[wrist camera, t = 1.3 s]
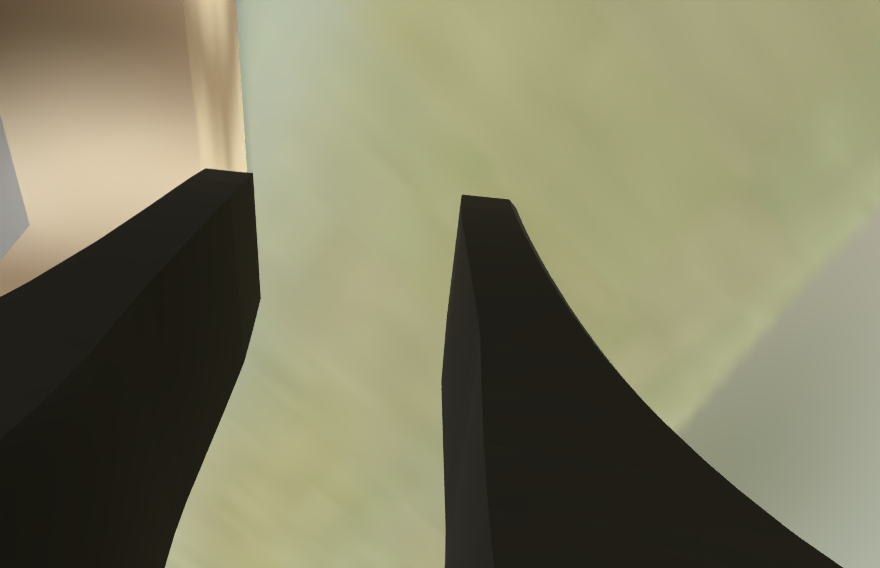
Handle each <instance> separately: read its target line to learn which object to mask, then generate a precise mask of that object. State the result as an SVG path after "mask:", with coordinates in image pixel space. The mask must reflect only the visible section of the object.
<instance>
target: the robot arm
mask: <svg viewBox="0 0 880 568" xmlns="http://www.w3.org/2000/svg"><path fill="white" fill-rule="evenodd" d="M260 299H261V297H260V280H259V264H258V248H257V232H256V216H255V200H254V184H253V173H246V172H237V171H227V170H217V169H208V168H205V169H203V170H202V171H200V172H198V173H197V174H195V175H194V176H192V177H190V178H189V179H187V180H186V181H184V182H183V183H181V184H180V185H179V186H177V187H176V188H174V189H173V190H171V191H170V192H168V193H167V194H165V195H164V196H163V197H161V198H160V199H158V200H157V201H155V202H154V203H152V204H151V205H150V206H148V207H147V208H145V209H144V210H142V211H141V212H139V213H138V214H136V215H135V216H133V217H132V218H130V219H129V220H127V221H126V222H124V223H123V224H121V225H120V226H118V227H117V228H115V229H114V230H112V231H111V232H109V233H108V234H106V235H105V236H103V237H102V238H100V239H99V240H97V241H96V242H94V243H92V244H91V245H89V246H87V247H86V248H84V249H82V250H81V251H79V252H77V253H76V254H74V255H72V256H71V257H69V258H67V259H66V260H64V261H62V262H61V263H59V264H57V265H56V266H54V267H52V268H51V269H49V270H47V271H46V272H44V273H42V274H41V275H39V276H37V277H36V278H34V279H32V280H31V281H29V282H27V283H25V284H23V285H22V286H20V287H18V288H16V289H14V290H12V291H10V292H9V293H7V294H5V295H3V296H1V297H0V568H165V565H166V561H167V558H168V554H169V551H170V548H171V544H172V541H173V538H174V534H175V532H176V529H177V526H178V523H179V521H180V518H181V515H182V512H183V510H184V507H185V504H186V501H187V499H188V497H189V494H190V492H191V489H192V487H193V485H194V482H195V480H196V477H197V475H198V473H199V470H200V468H201V465H202V463H203V461H204V458H205V456H206V453H207V451H208V449H209V446H210V444H211V441H212V439H213V437H214V434H215V432H216V429H217V427H218V425H219V422H220V420H221V417H222V415H223V413H224V410H225V408H226V405H227V403H228V400H229V398H230V396H231V393H232V391H233V388H234V386H235V383H236V381H237V378H238V376H239V373H240V371H241V368H242V366H243V363H244V360H245V357H246V353H247V349H248V346H249V342H250V338H251V335H252V331H253V327H254V323H255V319H256V315H257V311H258V307H259V303H260ZM442 419H443V453H444V486H445V519H446V548H445V568H843V567H841V566H840V565H838V564H837V563H835V562H834V561H833V560H831V559H830V558H828V557H827V556H825V555H824V554H822V553H821V552H819V551H818V550H817V549H815V548H814V547H812V546H811V545H810V544H808V543H807V542H805V541H804V540H802V539H801V538H799V537H798V536H797V535H795V534H794V533H793V532H791V531H790V530H789V529H787V528H786V527H785V526H783V525H782V524H781V523H780V522H779V521H777V520H776V519H775V518H774V517H772V516H771V515H770V514H768V513H767V512H766V511H765V510H763V509H762V508H761V507H760V506H758V505H757V504H755V502H753V501H752V500H751V499H749V498H748V497H747V496H746V495H745V494H743V493H742V492H741V491H740V490H738V489H737V488H736V487H735V486H734V485H732V484H731V483H730V482H729V481H728V480H727V479H725V478H724V477H723V476H722V475H721V474H720V473H718V472H717V471H716V470H715V469H714V468H713V467H711V466H710V465H709V464H708V463H707V462H706V461H704V460H703V459H702V458H701V457H700V456H699V455H698V454H697V453H696V452H695V451H694V450H693V449H692V448H691V447H690V446H689V445H688V444H686V443H685V442H684V441H683V440H682V439H681V438H680V437H679V436H678V435H677V434H676V433H675V432H674V431H673V430H672V429H671V428H670V427H668V426H667V425H666V424H665V423H664V422H663V421H662V420H661V419H660V418H659V417H658V416H657V415H656V414H655V413H654V412H653V411H652V410H651V409H650V407H649V406H648V405H647V404H646V403H645V402H644V401H643V400H642V399H641V398H640V397H639V396H638V395H637V393H636V392H635V391H634V390H633V389H632V388H631V387H630V385H629V384H628V383H627V382H626V381H625V380H624V379H623V378H622V376H621V375H620V374H619V373H618V371H617V370H616V369H615V368H614V367H613V365H612V364H611V363H610V362H609V360H608V359H607V358H606V356H605V355H604V354H603V353H602V351H601V350H600V349H599V347H598V346H597V345H596V343H595V342H594V341H593V339H592V338H591V336H590V335H589V334H588V332H587V331H586V330H585V328H584V327H583V325H582V324H581V323H580V321H579V320H578V318H577V317H576V315H575V314H574V312H573V311H572V309H571V308H570V306H569V305H568V303H567V302H566V300H565V299H564V297H563V295H562V294H561V292H560V291H559V289H558V287H557V286H556V284H555V282H554V281H553V279H552V278H551V276H550V274H549V273H548V271H547V269H546V268H545V266H544V264H543V262H542V261H541V259H540V257H539V255H538V253H537V251H536V249H535V247H534V246H533V244H532V242H531V240H530V238H529V236H528V234H527V232H526V230H525V228H524V226H523V223H522V221H521V219H520V217H519V214H518V212H517V209H516V208H515V206H514V205H513V204H512V203H511V201H510V200H508V199H499V198H489V197H479V196H470V195H462V197H461V205H460V213H459V222H458V230H457V238H456V246H455V254H454V263H453V271H452V279H451V287H450V296H449V304H448V312H447V322H446V334H445V345H444V357H443V370H442Z"/></svg>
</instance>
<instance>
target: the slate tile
mask: <svg viewBox="0 0 880 568" xmlns="http://www.w3.org/2000/svg"><path fill="white" fill-rule="evenodd" d="M29 226H30V224H29V220H28V217H27V213H26V209H25V205H24V202H23V198H22V194H21V190H20V187H19V183H18V179H17V175H16V172H15V168H14V164H13V161H12V157H11V153H10V149H9V146H8V142H7V138H6V134H5V131H4V127H3V123H2V120H1V116H0V260H1V259H2V258H3V257H4V256H5V254H6V253H7V252H8V251H9V250H10V248H11V247H12V246H13V245H14V244H15V242H16V241H17V240H18V239H19V238H20V236H21V235H22V234H23V233H24V232H25V230H26V229H27V228H28V227H29Z"/></svg>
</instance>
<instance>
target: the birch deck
mask: <svg viewBox="0 0 880 568" xmlns="http://www.w3.org/2000/svg"><path fill="white" fill-rule="evenodd" d="M0 116H1V120H2V123H3V127H4V131H5V134H6V138H7V142H8V146H9V149H10V153H11V157H12V161H13V164H14V168H15V172H16V175H17V179H18V183H19V187H20V190H21V194H22V198H23V202H24V205H25V209H26V213H27V217H28V220H29V224H30V226H29V227H28V228H27V229H26V230H25V232H24V233H23V234H22V235H21V236H20V238H19V239H18V240H17V241H16V242H15V244H14V245H13V246H12V247H11V248H10V250H9V251H8V252H7V253H6V254H5V256H4V257H3V258H2V259H1V260H0V297H1V296H3V295H5V294H7V293H9V292H10V291H12V290H14V289H16V288H18V287H20V286H22V285H23V284H25V283H27V282H29V281H31V280H32V279H34V278H36V277H37V276H39V275H41V274H42V273H44V272H46V271H47V270H49V269H51V268H52V267H54V266H56V265H57V264H59V263H61V262H62V261H64V260H66V259H67V258H69V257H71V256H72V255H74V254H76V253H77V252H79V251H81V250H82V249H84V248H86V247H87V246H89V245H91V244H92V243H94V242H96V241H97V240H99V239H100V238H102V237H103V236H105V235H106V234H108V233H109V232H111V231H112V230H114V229H115V228H117V227H118V226H120V225H121V224H123V223H124V222H126V221H127V220H129V219H130V218H132V217H133V216H135V215H136V214H138V213H139V212H141V211H142V210H144V209H145V208H147V207H148V206H150V205H151V204H152V203H154V202H155V201H157V200H158V199H160V198H161V197H163V196H164V195H165V194H167V193H168V192H170V191H171V190H173V189H174V188H176V187H177V186H179V185H180V184H181V183H183V182H184V181H186V180H187V179H189V178H190V177H192V176H194V175H195V174H197V173H198V172H200V171H202V170H203V169H205V168H208V169H217V170H227V171H237V172H246V173H247V163H246V149H245V134H244V119H243V104H242V89H241V74H240V59H239V44H238V29H237V15H236V0H0Z"/></svg>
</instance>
